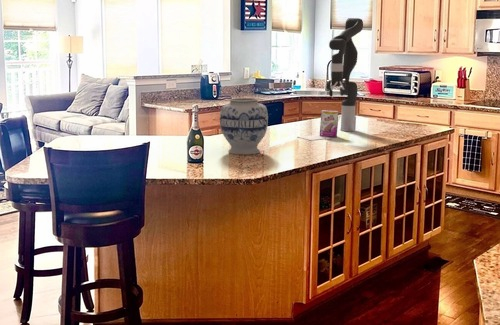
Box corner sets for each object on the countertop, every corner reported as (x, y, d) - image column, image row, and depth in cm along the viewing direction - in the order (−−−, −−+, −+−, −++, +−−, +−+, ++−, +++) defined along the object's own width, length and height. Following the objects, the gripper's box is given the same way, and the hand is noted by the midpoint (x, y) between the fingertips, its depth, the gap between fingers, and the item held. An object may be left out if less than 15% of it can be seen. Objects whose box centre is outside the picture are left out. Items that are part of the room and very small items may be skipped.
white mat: (316, 135, 413) (316, 134, 413) (330, 138, 401) (330, 137, 401) (297, 137, 404) (297, 136, 404) (310, 140, 393) (310, 139, 393)
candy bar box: (319, 136, 406) (321, 110, 403) (319, 135, 410) (321, 110, 407) (337, 137, 405) (338, 111, 402) (336, 136, 409) (338, 111, 406)
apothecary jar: (211, 154, 349) (211, 99, 342) (232, 146, 372) (232, 95, 366) (256, 158, 338) (256, 102, 332) (274, 149, 362) (275, 97, 356)
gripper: (342, 69, 409) (341, 94, 413) (324, 70, 403) (323, 96, 406) (349, 70, 403) (348, 95, 406) (331, 71, 396) (330, 97, 400)
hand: (336, 95), depth 406 cm, fingers open, 8 cm apart
